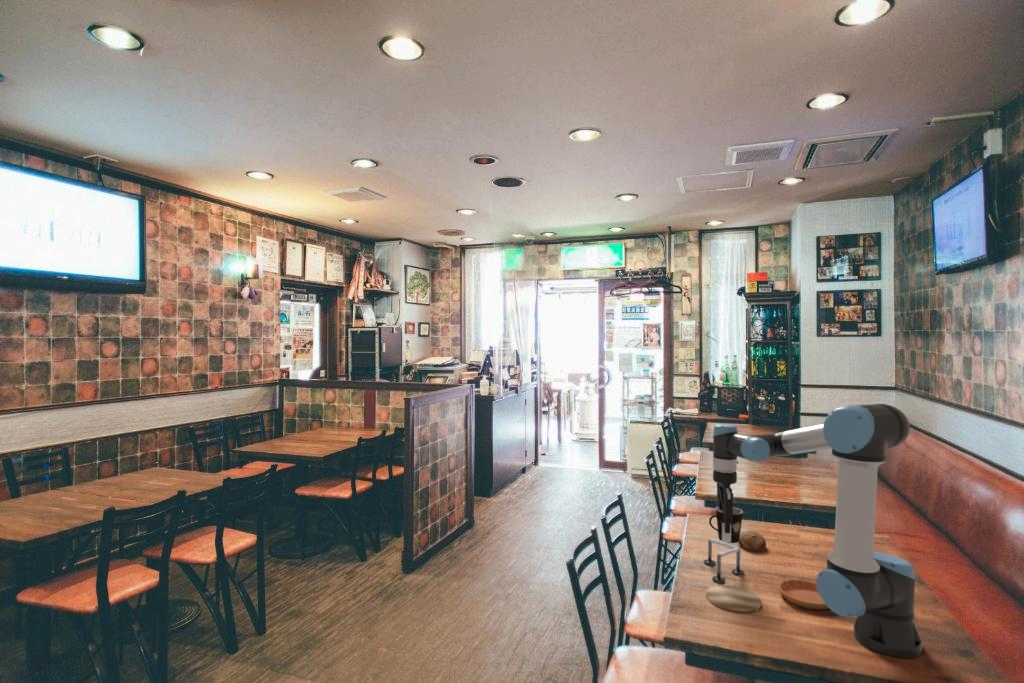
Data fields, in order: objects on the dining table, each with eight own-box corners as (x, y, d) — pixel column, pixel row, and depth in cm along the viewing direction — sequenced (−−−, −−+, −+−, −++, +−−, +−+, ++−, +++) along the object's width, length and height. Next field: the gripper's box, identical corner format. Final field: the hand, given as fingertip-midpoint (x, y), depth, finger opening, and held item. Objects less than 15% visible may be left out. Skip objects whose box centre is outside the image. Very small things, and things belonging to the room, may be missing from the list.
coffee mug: (738, 535, 186) (738, 506, 186) (746, 545, 177) (746, 514, 177) (703, 533, 187) (703, 505, 187) (709, 543, 179) (709, 513, 179)
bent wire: (751, 585, 177) (752, 558, 177) (713, 582, 179) (714, 555, 179) (737, 562, 195) (737, 538, 195) (703, 560, 197) (703, 536, 197)
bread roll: (736, 552, 215) (729, 535, 213) (755, 538, 217) (748, 521, 216) (754, 562, 205) (747, 544, 204) (774, 547, 208) (767, 530, 207)
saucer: (820, 618, 157) (820, 608, 157) (768, 596, 171) (768, 587, 171) (846, 604, 166) (846, 594, 166) (795, 584, 179) (795, 575, 179)
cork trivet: (768, 614, 159) (768, 612, 159) (712, 610, 161) (712, 607, 161) (752, 589, 175) (752, 587, 175) (701, 585, 177) (701, 583, 177)
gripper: (743, 478, 172) (743, 549, 172) (729, 464, 191) (729, 528, 191) (719, 476, 173) (718, 548, 173) (707, 463, 192) (707, 527, 192)
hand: (724, 537), depth 182 cm, fingers closed on coffee mug, 6 cm apart
